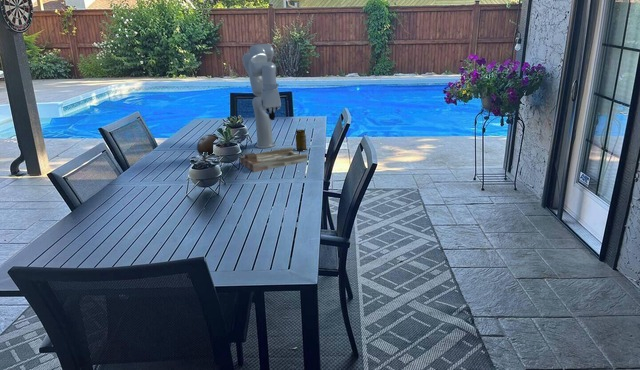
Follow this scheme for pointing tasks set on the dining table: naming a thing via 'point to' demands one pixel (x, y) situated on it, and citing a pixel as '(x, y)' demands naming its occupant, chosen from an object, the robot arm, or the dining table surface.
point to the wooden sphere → (206, 144)
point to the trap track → (273, 159)
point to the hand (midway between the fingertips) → (272, 119)
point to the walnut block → (251, 157)
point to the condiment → (300, 140)
